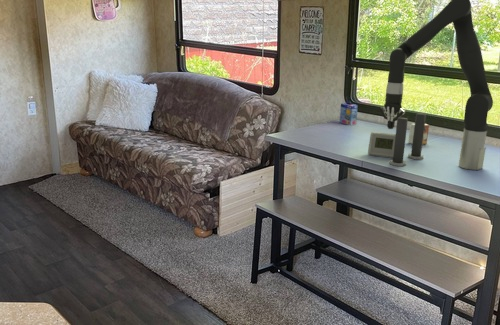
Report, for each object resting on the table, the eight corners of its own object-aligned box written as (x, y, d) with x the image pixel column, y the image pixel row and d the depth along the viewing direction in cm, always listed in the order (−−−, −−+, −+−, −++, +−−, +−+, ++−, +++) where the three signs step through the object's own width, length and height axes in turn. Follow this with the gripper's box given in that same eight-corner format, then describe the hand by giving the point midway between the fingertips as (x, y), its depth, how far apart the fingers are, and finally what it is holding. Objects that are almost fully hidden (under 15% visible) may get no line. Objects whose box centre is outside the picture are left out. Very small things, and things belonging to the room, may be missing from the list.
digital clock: (365, 154, 238) (367, 133, 235) (372, 151, 246) (374, 130, 243) (398, 160, 230) (401, 138, 227) (405, 156, 237) (407, 135, 234)
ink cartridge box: (338, 122, 311) (340, 99, 307) (345, 121, 314) (346, 99, 310) (350, 125, 304) (352, 102, 300) (356, 124, 307) (358, 101, 303)
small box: (414, 145, 259) (417, 125, 256) (407, 142, 264) (410, 123, 261) (427, 144, 262) (429, 124, 259) (419, 141, 267) (422, 122, 264)
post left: (408, 164, 224) (413, 118, 218) (400, 167, 219) (405, 120, 213) (394, 160, 229) (399, 116, 223) (386, 163, 224) (391, 118, 218)
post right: (425, 157, 236) (431, 114, 230) (418, 160, 231) (424, 116, 225) (412, 154, 240) (417, 112, 234) (405, 157, 236) (410, 113, 230)
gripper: (411, 93, 228) (407, 130, 233) (386, 89, 237) (382, 125, 242) (403, 94, 223) (399, 132, 228) (377, 91, 232) (374, 127, 237)
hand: (390, 128), depth 235 cm, fingers closed
